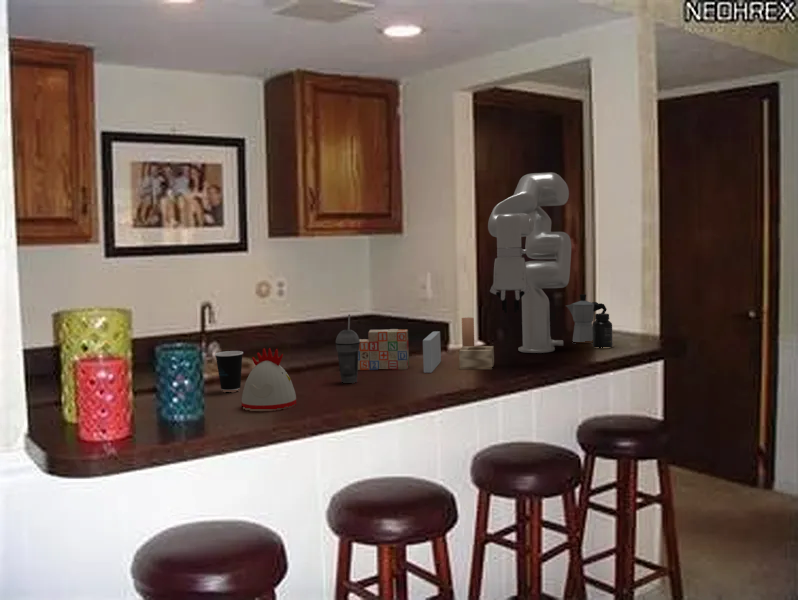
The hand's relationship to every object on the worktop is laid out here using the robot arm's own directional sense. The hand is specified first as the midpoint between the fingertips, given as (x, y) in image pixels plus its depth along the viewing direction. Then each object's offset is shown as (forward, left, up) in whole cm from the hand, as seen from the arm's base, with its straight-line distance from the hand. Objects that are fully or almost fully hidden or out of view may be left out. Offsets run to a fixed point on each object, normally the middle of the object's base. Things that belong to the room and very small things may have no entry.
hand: (510, 312), depth 260 cm
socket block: (+11, 0, -17) cm, 21 cm away
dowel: (+15, -14, -17) cm, 27 cm away
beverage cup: (+46, +27, -17) cm, 56 cm away
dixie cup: (+77, +41, -17) cm, 89 cm away
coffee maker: (-25, -54, -17) cm, 62 cm away
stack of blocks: (+44, +2, -18) cm, 47 cm away
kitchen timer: (+59, +60, -17) cm, 86 cm away
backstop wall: (+25, 0, -17) cm, 30 cm away
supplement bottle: (-30, -40, -17) cm, 53 cm away
